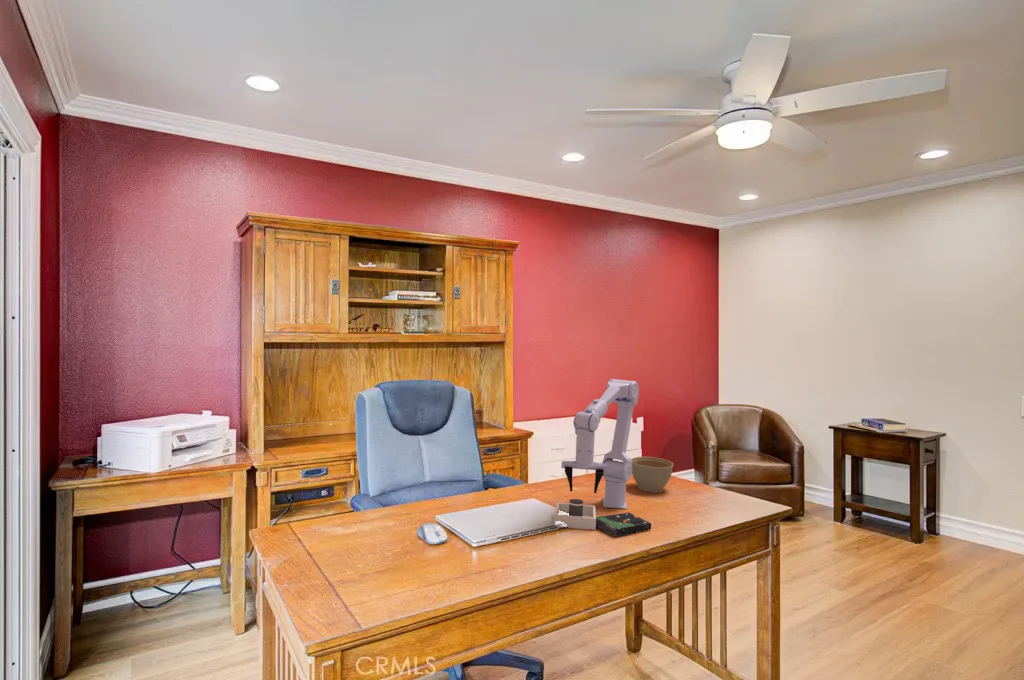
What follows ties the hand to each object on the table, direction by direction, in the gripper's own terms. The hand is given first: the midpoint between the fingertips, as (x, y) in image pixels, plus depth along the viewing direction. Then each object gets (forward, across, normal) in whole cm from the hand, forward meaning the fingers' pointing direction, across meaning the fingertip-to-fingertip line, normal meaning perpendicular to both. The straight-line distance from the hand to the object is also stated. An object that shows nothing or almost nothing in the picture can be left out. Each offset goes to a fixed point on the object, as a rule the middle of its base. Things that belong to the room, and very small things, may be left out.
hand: (583, 491), depth 181 cm
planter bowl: (+10, +26, +41) cm, 50 cm away
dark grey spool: (+9, -2, -2) cm, 9 cm away
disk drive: (+10, +12, -4) cm, 16 cm away
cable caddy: (+9, -2, -2) cm, 10 cm away
